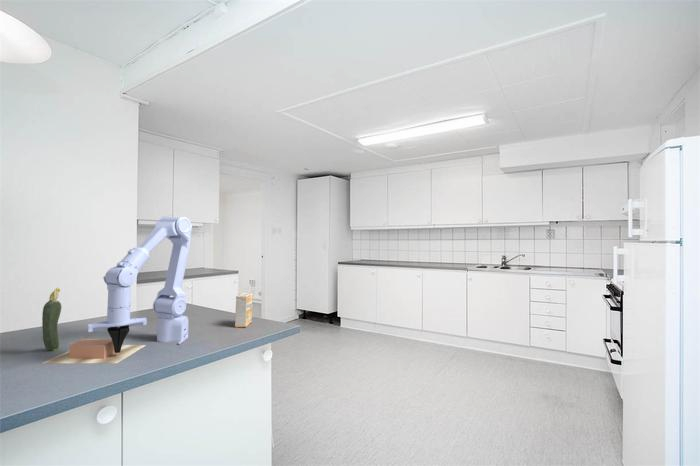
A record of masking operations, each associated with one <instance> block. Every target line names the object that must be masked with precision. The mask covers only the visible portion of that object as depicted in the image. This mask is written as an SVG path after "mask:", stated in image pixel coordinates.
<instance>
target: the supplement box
mask: <svg viewBox="0 0 700 466" xmlns="http://www.w3.org/2000/svg"><path fill="white" fill-rule="evenodd" d="M253 297H254V293H252V292H251V293H250V292H249V293H248V292H247V293H246V292H243V293H239V294H238V295H236V296H235V317H234V318H235V321H234V327H235V328H238V327H246V328H247V327H248V326H250V325H251V324H252V323H253V322H252V320H253ZM251 322H252V323H251ZM250 323H251V324H250Z"/></svg>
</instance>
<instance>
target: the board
mask: <svg viewBox="0 0 700 466" xmlns="http://www.w3.org/2000/svg"><path fill="white" fill-rule="evenodd" d="M146 346H147V345H146V344H122V347H121V351H120V353H114V354H112V355H110V356H108V357H106V358H104V359H87V358H69V350H68V351H66V352H63V353H61V354H59V355H57V356H54V357H52V358H51V359H48V360H46V361H43V362H42V364H119V363H120V362H121V361H123V360H124V359H127V358H128V357H129V356H131V355H133V354H135V353H136V352H138V351H140V350H141V349H142V348H144V347H146Z"/></svg>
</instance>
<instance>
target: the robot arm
mask: <svg viewBox="0 0 700 466" xmlns="http://www.w3.org/2000/svg"><path fill="white" fill-rule="evenodd" d="M192 230H193V224H192V222H191V221H190V219H189V218H188V217H186V216H165V215H164V216H162V217H160V218H159V219H158V221H156V222H155V223H154V227H153V229H152V230H151V231H150V233H149V234H148V236H146V238H145V239H144V241H142V243H141V244H140V245H139V246H138V247H133V248H132V249H129V250H127V254H126V255H125V256H124V257H123V258H122V259H121V260H120V261H118V262H117V263H116V266H113V267H110V268H108V270H107V272H106V273H105V275H104V276H103V282H104V283H105V284H106V290H107V310H106V311H107V314H106V321H100V322H96V323H94V322H93V323H88V324H87V333H92V332H96V331H98V332H99V331H104V330H107V333H108V334H109V336H110V339H112V342H113V345H114V352H115V353H120V351H121V347H122V345H124V341H125V339H126V337H127V336H128V333H129V331H130V327H134V326H136V327H137V326H146V325H147V324H148V323H147V322H148V319H147V317H140V318H139V317H136V318H135V317H133V318H131V301H132V299H131V298H132V285H133V284H134V283H135V282H136V281H137V279H138V278H137V277H138V274H139V272H140V270H141V269H142V268H143V266H145V264H146V263H147V262H148V261H149V260H150V253H151V252H152V251H153V250H154V249H155V248H156V247H157V246H158V245H159V244H160V243H161V242H163V240H164V239H165V238H167V239H168V240H170V242H171V243H172V249H171V254H170V259H169V262H168V263H169V264H168V269H167V272H166V277H165V283H164V287H162V289H160V290H159V291H158V292H157V295H156V297H155V299H154V301H153V302H152V310H153V311H154V313H156V314H155V315H156V317H157V323H156V325H157V330H156V331H157V332H156V341H157V342H159V343H169V342H170V343H171V342H177V343H176V345H180V344H182V343H184V342H185V341H186V340H187V339H188V338H189V317H188V316H187V315H183V314H184V313H185V311H186V309H187V293H185V292H184V290H183V289H182V287H183V282H184V277H185V271H186V267H187V261H188V257H189V253H190V247H191V241H192V240H191V234H192Z"/></svg>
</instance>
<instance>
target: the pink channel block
mask: <svg viewBox="0 0 700 466" xmlns="http://www.w3.org/2000/svg"><path fill="white" fill-rule="evenodd" d="M68 344H69V343H68ZM68 349H69V350H68V351H69V358H87V359H104V358H106V357H108V356H110V355H112V354H114V353H115V352H114V345H113V342H112V339H111V338H82V339H80V340H77V341H75V342H72V343H70V344H69V346H68Z"/></svg>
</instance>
